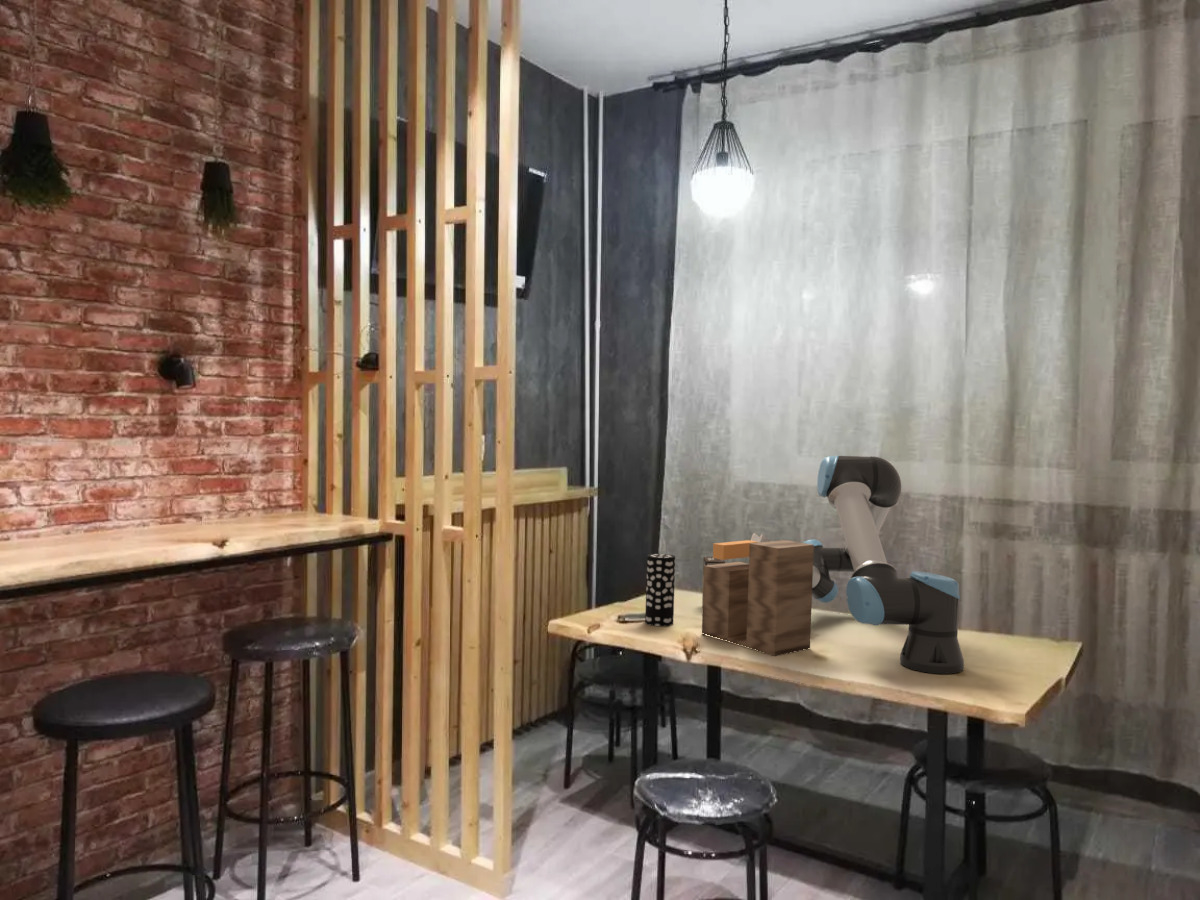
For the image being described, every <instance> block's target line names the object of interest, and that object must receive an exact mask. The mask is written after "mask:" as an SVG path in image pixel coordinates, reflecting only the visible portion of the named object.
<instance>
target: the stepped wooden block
mask: <svg viewBox="0 0 1200 900" xmlns="http://www.w3.org/2000/svg"><path fill="white" fill-rule="evenodd" d="M813 551H814V545H812V544H806V543H803V542H799V541H793V540H787V539H782V540H770V542H759V543H750V547H749V557H748V563H746V562H741V561H735V562H725V563H724V564H715V565H706V566H704V580H703V579H702V596H703V606H702V618H701V619H702V621H701V622H702V623H701V634H702V633H704V634H707V635H710V636H713V637H717V638H720V639H723V640H727V641H730V642H733V643H736V644H739V645H743V646H746V647H749V648H752V649H756V650H758V651H757V652H759V651H761V652H760V653H762V652H764V653H763V654H766V653H767V654H766V655H769V654H770V656H772V655H773V657H776V656H777V657H778V656H783V655H787V654H790V652H792V653H795V652H794V651H797V652H800V651H799V650H802V651H804V650H803V649H806V650H809V649H808V648H810V649H811V630H812V607H813V606H812V605H813V603H812V602H813V601H812V600H813V596H812V580H813ZM739 645H738V646H739ZM746 647H745V648H746ZM749 648H748V649H749ZM752 649H751V650H752ZM756 650H755V651H756ZM786 653H787V654H786ZM782 654H783V655H782Z"/></svg>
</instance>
